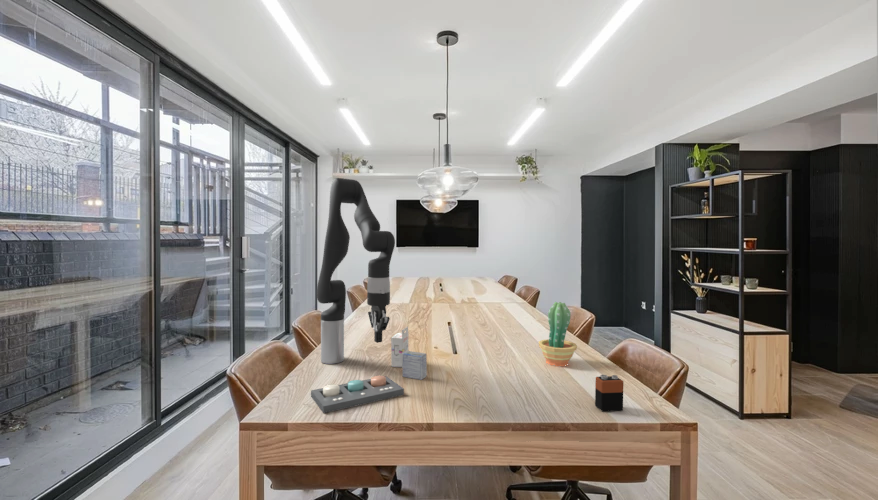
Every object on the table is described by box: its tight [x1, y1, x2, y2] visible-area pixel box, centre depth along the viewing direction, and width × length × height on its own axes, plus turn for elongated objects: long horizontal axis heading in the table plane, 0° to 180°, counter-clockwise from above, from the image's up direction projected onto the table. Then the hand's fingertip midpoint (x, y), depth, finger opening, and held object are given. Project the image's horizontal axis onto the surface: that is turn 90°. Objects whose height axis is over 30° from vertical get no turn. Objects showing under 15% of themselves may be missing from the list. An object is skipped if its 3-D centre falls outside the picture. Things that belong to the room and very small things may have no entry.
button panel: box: [310, 375, 405, 414], centre depth 126 cm, size 14×26×2 cm, turn 122°
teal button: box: [347, 379, 364, 392], centre depth 127 cm, size 5×5×3 cm
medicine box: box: [402, 350, 428, 381], centre depth 144 cm, size 8×4×9 cm, turn 65°
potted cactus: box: [538, 301, 578, 367], centre depth 161 cm, size 15×15×25 cm
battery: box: [594, 374, 624, 412], centre depth 118 cm, size 4×7×10 cm, turn 96°
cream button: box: [322, 384, 340, 398], centre depth 123 cm, size 5×5×3 cm
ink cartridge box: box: [390, 326, 409, 368], centre depth 158 cm, size 9×5×15 cm, turn 168°
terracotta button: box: [370, 375, 386, 387], centre depth 132 cm, size 5×5×3 cm
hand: (378, 341), depth 132 cm, fingers closed
